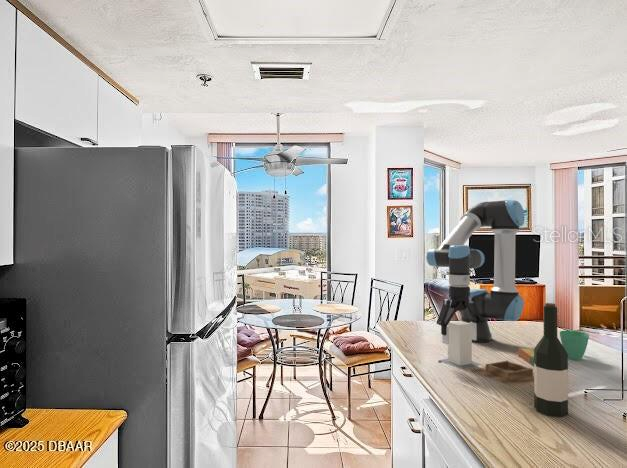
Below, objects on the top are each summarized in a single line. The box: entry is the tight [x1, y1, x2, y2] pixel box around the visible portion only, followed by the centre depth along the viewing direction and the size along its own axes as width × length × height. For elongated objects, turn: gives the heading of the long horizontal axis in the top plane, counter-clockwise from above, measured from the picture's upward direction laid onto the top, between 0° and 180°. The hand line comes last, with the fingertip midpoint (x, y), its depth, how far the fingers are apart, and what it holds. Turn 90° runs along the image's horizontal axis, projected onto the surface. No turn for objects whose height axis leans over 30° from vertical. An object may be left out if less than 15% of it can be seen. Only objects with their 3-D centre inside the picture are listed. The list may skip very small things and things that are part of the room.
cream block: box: [447, 320, 473, 366], centre depth 156 cm, size 6×6×15 cm
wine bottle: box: [533, 302, 569, 418], centre depth 115 cm, size 8×8×30 cm
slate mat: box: [438, 358, 483, 370], centre depth 156 cm, size 11×11×1 cm
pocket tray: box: [470, 360, 534, 388], centre depth 143 cm, size 18×18×3 cm
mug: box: [559, 329, 590, 361], centre depth 165 cm, size 15×10×10 cm
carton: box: [518, 348, 534, 368], centre depth 156 cm, size 8×16×4 cm, turn 175°
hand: (459, 341), depth 156 cm, fingers open, 13 cm apart
